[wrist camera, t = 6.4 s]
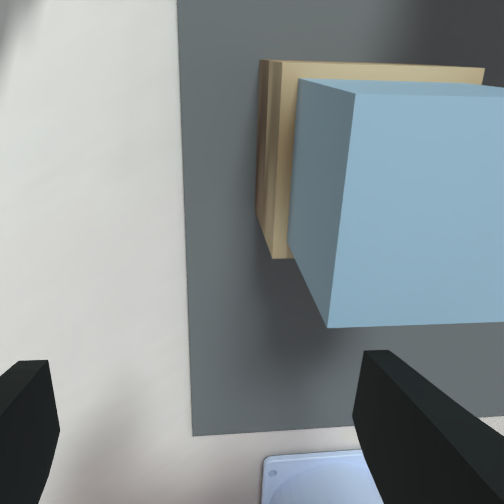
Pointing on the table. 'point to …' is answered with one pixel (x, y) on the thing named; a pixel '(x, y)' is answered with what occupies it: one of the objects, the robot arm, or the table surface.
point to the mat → (251, 235)
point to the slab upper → (283, 124)
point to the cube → (399, 201)
